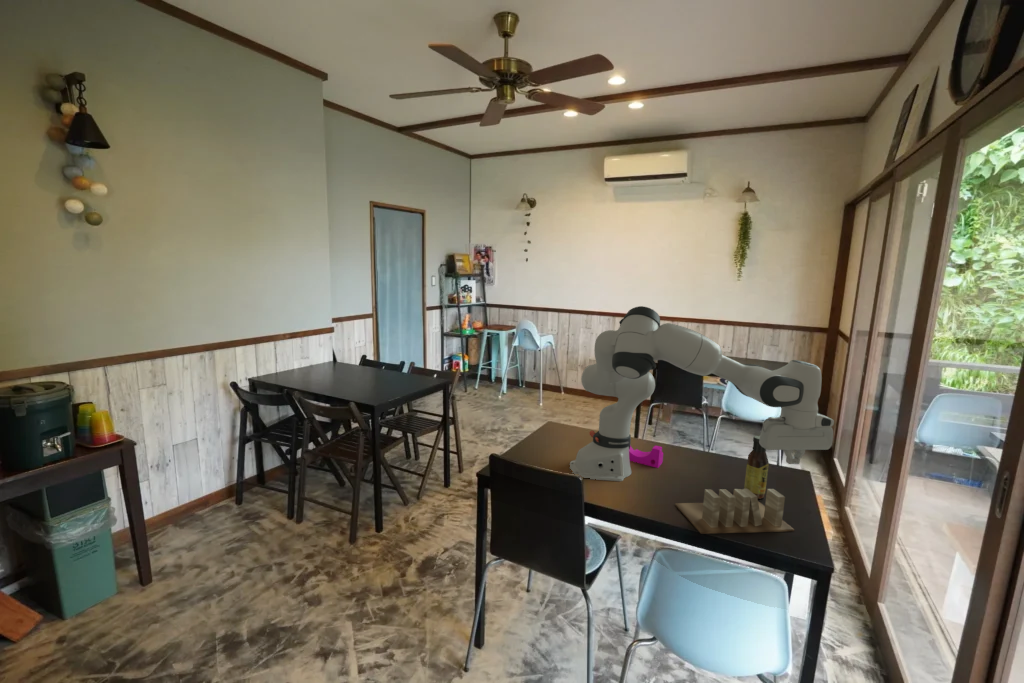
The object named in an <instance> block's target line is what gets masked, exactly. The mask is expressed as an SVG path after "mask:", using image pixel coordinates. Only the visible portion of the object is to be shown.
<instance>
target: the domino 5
mask: <svg viewBox="0 0 1024 683" xmlns="http://www.w3.org/2000/svg"><path fill="white" fill-rule="evenodd" d="M765 494H766V495H765V496H766V497H765V503H764V506H765V511H764V518H765V519H766V520H768V521H769V522H770V523H771V524H773V525H774V526H781V525H782V520H783V516H784V509H785V500H786V496H784V495H783V494H782V493H780V492H779V491H777V490H776V489H774V488H766V493H765Z"/></svg>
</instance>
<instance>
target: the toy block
mask: <svg viewBox="0 0 1024 683" xmlns="http://www.w3.org/2000/svg"><path fill="white" fill-rule="evenodd" d="M629 460H630V462H632V461H633V463H636V462H637V464H641V465H645V466H648V467H653V468H657V469H658V468H660V467H661V465H662V464H663V461H664V452H663V446H660V445H654V446H652V449H651V451H642V450H640V449H638V448H636V449H634V448H633V447H632V444H630V449H629Z"/></svg>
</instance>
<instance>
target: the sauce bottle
mask: <svg viewBox="0 0 1024 683" xmlns="http://www.w3.org/2000/svg"><path fill="white" fill-rule="evenodd" d="M759 439H760V435H754V436H753V439H752V440H753V443H752V450H751V451H750V452H749V454H748V456H747V463H746V468H745V478H744V488H743V489H745V488H747V489H748V490H750V491H751V492H752V493H753V494H755V495H756V496H757V498H758V500H760V499H763V498H765V496H766V495H765V494H766V492H767V481H768V472H769V464H770V463H769V459H768V454H767V449H765V448H763V447H762V446H761V445H760V444H759Z"/></svg>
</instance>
